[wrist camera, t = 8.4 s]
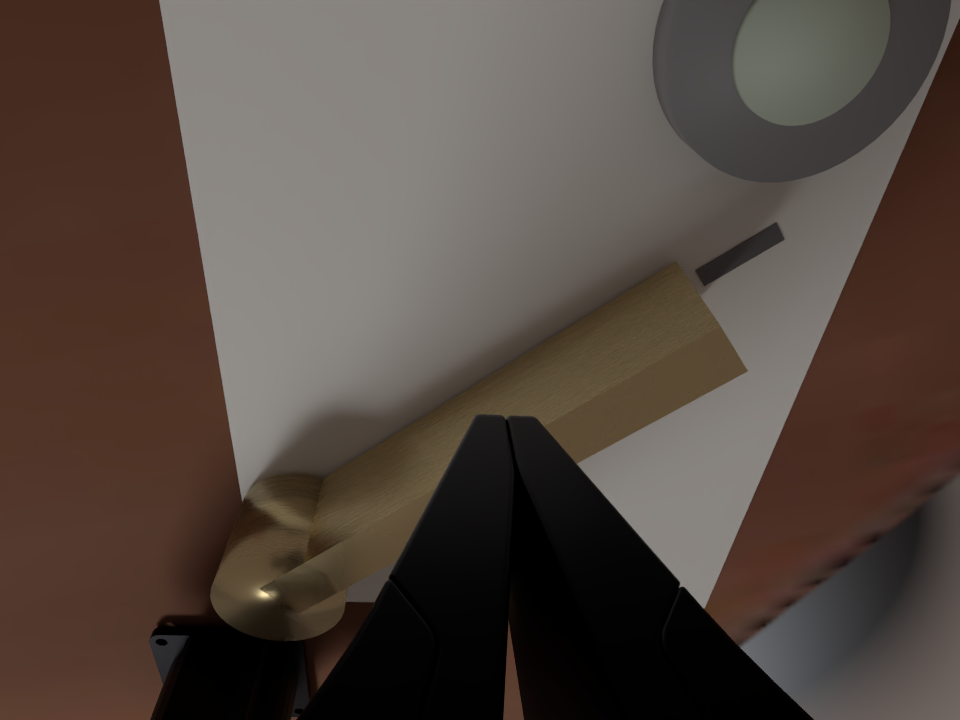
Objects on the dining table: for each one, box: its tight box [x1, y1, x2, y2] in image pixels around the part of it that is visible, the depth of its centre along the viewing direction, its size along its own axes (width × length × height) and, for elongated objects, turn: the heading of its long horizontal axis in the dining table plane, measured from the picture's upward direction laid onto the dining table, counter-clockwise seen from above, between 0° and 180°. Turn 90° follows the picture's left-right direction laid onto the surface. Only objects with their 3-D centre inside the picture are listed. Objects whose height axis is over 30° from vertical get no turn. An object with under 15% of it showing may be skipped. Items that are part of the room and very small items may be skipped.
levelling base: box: [159, 0, 960, 608], centre depth 20 cm, size 24×18×3 cm
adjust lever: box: [210, 261, 748, 641], centre depth 19 cm, size 17×4×4 cm, turn 126°
